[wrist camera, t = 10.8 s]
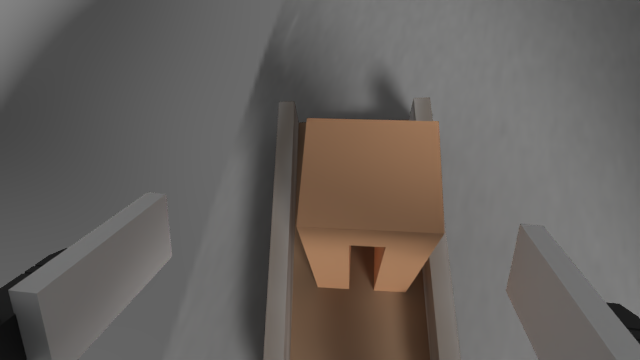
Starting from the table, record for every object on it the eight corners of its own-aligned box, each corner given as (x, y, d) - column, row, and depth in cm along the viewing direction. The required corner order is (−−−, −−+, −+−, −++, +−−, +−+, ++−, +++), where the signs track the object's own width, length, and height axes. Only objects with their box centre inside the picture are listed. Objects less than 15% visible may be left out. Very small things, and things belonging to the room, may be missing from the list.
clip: (404, 219, 26) (438, 121, 16) (405, 292, 24) (444, 233, 14) (322, 215, 26) (307, 118, 17) (317, 287, 25) (296, 226, 15)
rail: (421, 128, 30) (429, 97, 27) (451, 422, 22) (469, 430, 19) (286, 131, 31) (278, 101, 27) (272, 419, 23) (259, 426, 20)
